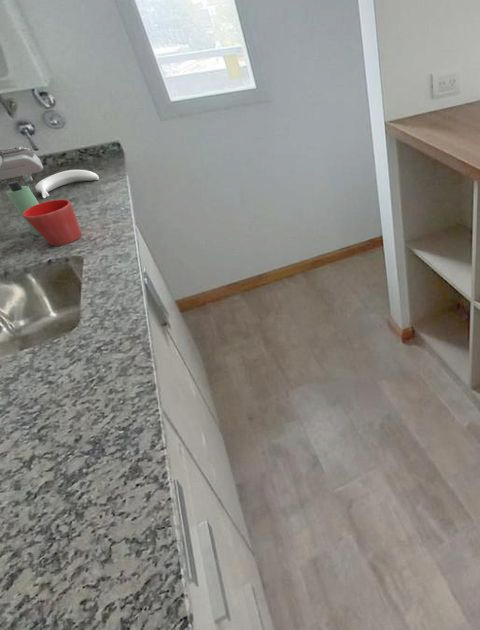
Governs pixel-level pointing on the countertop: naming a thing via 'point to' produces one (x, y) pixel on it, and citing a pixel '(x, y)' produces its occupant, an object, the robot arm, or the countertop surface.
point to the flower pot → (54, 221)
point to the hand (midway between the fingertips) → (8, 183)
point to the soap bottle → (22, 200)
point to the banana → (63, 180)
